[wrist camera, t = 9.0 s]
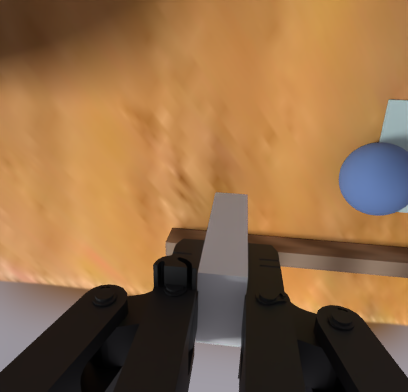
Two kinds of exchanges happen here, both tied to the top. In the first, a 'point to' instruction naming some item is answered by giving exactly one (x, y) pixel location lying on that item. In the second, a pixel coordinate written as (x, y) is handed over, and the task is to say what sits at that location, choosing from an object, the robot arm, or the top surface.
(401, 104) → the pin deck mark
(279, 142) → the top surface
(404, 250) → the lane bumper
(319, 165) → the top surface
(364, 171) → the ball
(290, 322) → the robot arm
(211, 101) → the top surface
